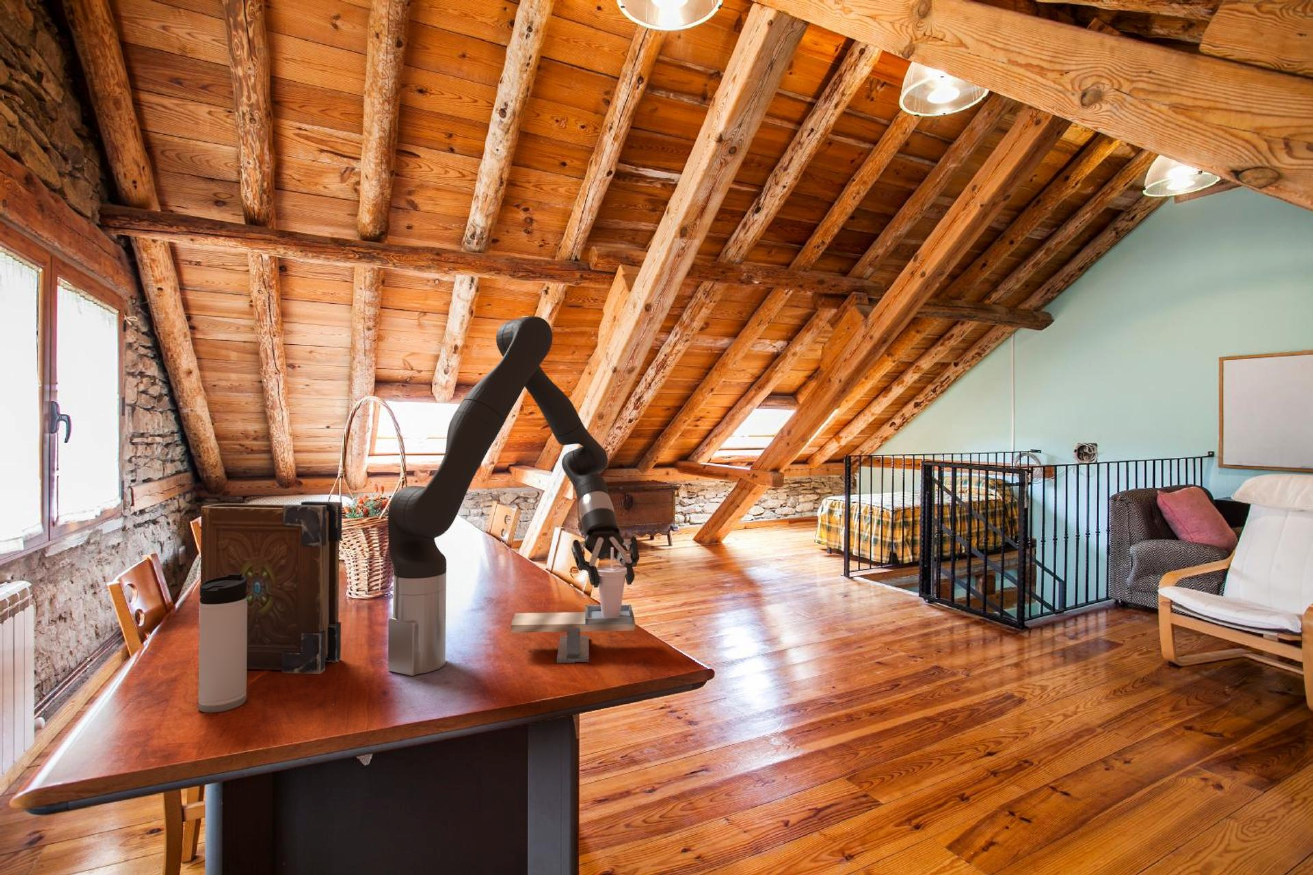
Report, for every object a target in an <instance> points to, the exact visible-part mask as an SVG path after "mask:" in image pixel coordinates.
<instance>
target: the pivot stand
mask: <svg viewBox="0 0 1313 875" xmlns="http://www.w3.org/2000/svg"><path fill="white" fill-rule="evenodd" d="M589 637H590V636H589V634H581V632H580V627H579V628H567V632H566V634H565V635H559V639H558V640H559V642H558V648H557V657H556V664H576V663H575V662H587V663H590V650H589V648H590V646H589V645H590V644H589V641H590V640H589Z"/></svg>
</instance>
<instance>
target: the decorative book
mask: <svg viewBox="0 0 1313 875" xmlns="http://www.w3.org/2000/svg"><path fill="white" fill-rule="evenodd" d="M342 530H343V501H316V500H315V501H310V500H309V501H308V500H307V501H302V502H300V504H286V503H285V504H281V503H280V504H278V503H275V504H274V503H271V504H270V503H216V504H208V505H202V506H200V585H201V584H202V583H203V582H205V581H208V580H210V579H214V578H218V577H224V576H228V575H229V574H242V576H244V577H246V578H247V591H246V592H247V600H246V601H247V670H248V669H249V670H276V671H277V670H278V671H279V670H281V673H282V674H310V675H311V674H313V675H314V674H315V675H317V674H318V675H319V674H323V673H324V672H325V671H326V663H325V662H332V663H331V664H337V663H338V662H340V661H341V660H342V653H341V652H342V636H341V635H342V621H339V617H340V616H339V614H340V613H339V607H340V605H339V604H340V602H339V600H340V598H339V597H340V594H339V593H340V587H339V586H340V541H342V538H343V531H342ZM339 660H340V661H339ZM336 662H337V663H336Z"/></svg>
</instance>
